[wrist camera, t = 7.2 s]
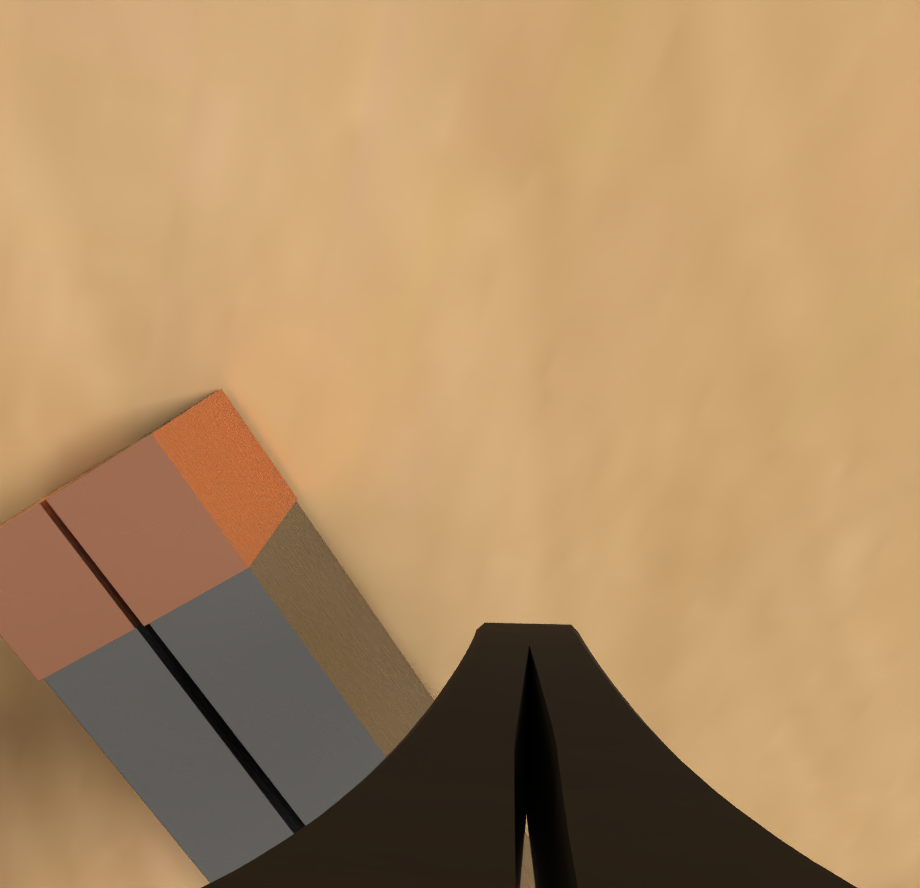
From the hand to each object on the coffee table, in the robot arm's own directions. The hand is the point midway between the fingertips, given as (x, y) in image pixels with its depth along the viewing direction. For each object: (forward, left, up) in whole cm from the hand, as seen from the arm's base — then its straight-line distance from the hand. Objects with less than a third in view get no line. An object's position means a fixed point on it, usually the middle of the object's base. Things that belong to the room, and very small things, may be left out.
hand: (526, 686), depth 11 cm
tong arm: (-5, +6, -7) cm, 11 cm away
